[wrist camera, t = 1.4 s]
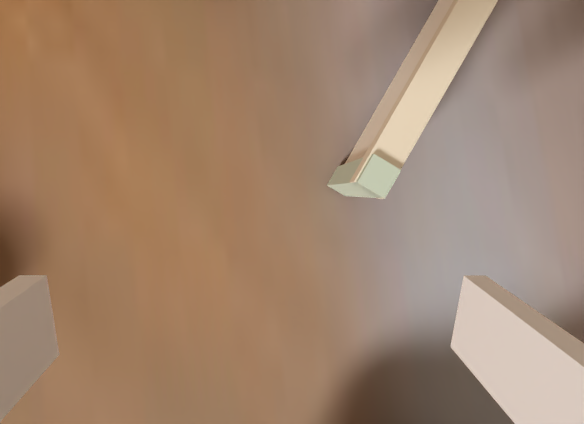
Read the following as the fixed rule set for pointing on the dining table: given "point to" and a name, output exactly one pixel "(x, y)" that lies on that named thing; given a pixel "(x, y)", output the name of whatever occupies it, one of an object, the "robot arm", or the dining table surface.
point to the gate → (411, 98)
